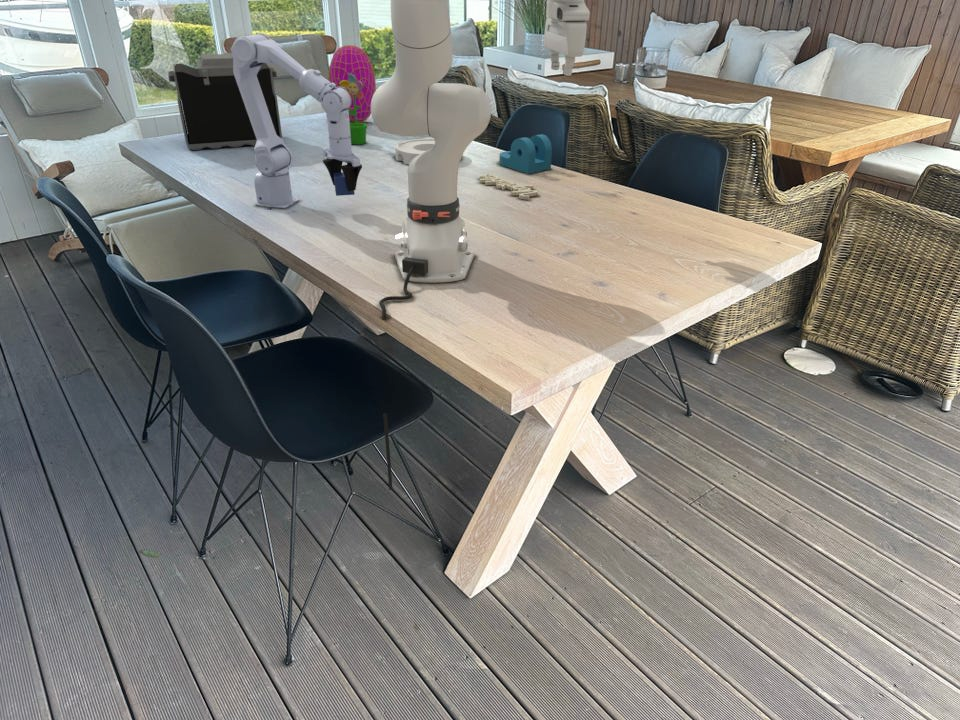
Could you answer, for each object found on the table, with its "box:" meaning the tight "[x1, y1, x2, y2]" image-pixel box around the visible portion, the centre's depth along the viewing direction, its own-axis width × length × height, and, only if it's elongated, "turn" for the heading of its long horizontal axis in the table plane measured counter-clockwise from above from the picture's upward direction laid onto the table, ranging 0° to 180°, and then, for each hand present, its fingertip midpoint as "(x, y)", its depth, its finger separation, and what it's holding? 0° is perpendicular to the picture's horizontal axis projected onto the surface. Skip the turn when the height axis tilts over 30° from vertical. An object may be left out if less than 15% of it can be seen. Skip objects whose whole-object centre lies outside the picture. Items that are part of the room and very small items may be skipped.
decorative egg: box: [328, 44, 377, 123], centre depth 286 cm, size 19×19×30 cm
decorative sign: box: [479, 173, 539, 201], centre depth 214 cm, size 26×1×10 cm
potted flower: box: [339, 73, 368, 145], centre depth 255 cm, size 9×8×25 cm
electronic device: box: [167, 52, 283, 151], centre depth 254 cm, size 37×22×30 cm, turn 111°
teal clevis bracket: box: [498, 133, 553, 175], centre depth 233 cm, size 18×10×10 cm, turn 39°
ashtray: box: [394, 138, 435, 166], centre depth 243 cm, size 23×23×4 cm
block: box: [334, 171, 356, 197], centre depth 189 cm, size 5×5×5 cm
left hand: (344, 187), depth 189 cm, fingers closed on block, 6 cm apart
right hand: (561, 72), depth 170 cm, fingers open, 8 cm apart
